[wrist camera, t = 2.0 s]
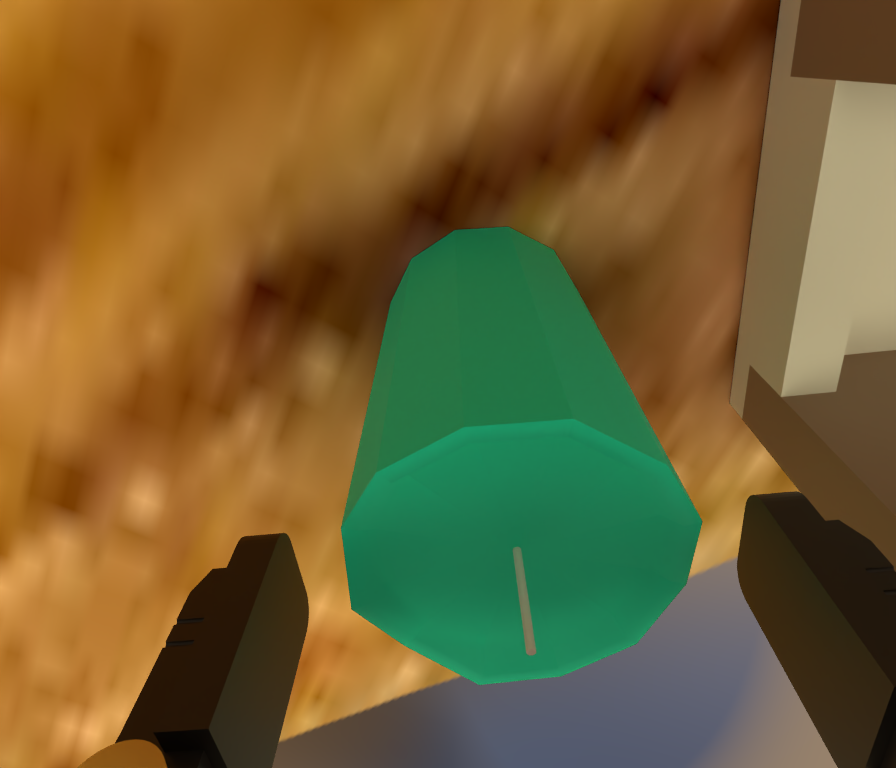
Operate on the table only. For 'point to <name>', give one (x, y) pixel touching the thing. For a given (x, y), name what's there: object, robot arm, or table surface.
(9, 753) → the table surface
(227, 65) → the table surface
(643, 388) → the table surface
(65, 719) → the table surface
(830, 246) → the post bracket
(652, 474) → the candle
